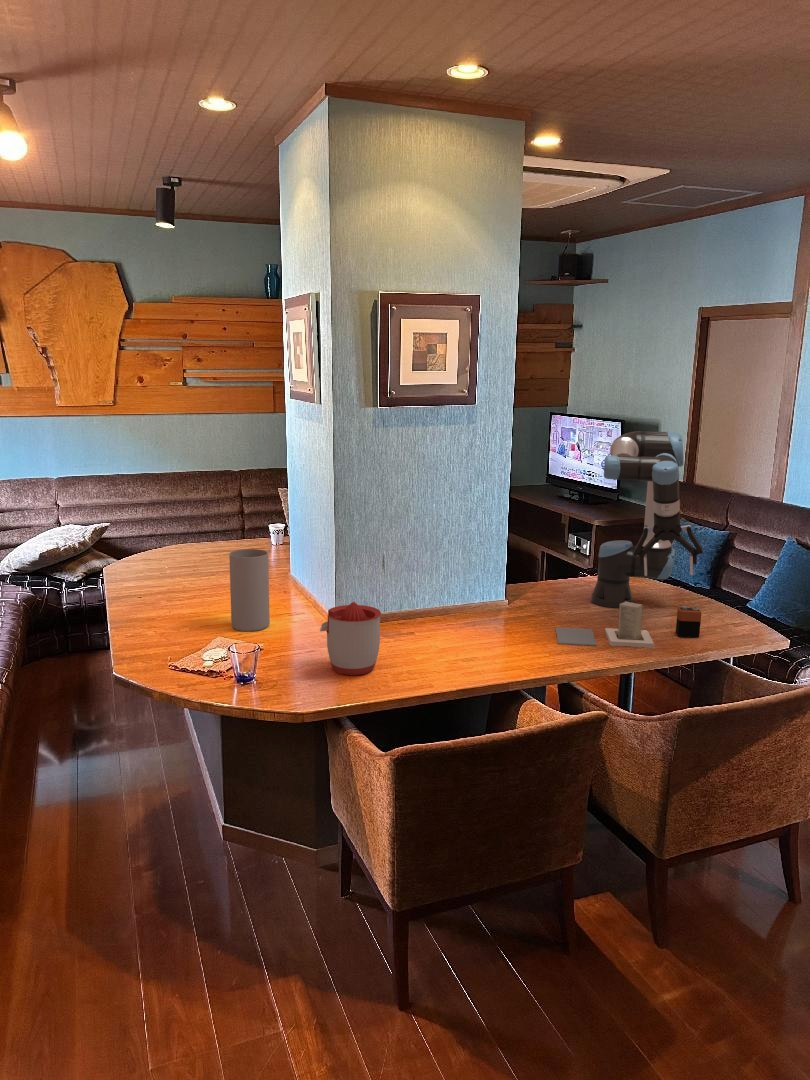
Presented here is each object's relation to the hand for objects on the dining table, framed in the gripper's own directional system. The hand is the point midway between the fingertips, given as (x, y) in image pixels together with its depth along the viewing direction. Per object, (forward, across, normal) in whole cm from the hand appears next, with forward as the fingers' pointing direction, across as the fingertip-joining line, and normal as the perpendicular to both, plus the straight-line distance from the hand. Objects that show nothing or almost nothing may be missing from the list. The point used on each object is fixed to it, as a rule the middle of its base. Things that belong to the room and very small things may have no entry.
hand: (668, 573), depth 254 cm
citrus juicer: (-1, -88, -55) cm, 104 cm away
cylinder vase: (+1, -133, -29) cm, 136 cm away
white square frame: (+22, -13, -5) cm, 26 cm away
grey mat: (+19, -30, -8) cm, 36 cm away
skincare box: (+22, -13, -5) cm, 26 cm away
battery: (+27, +5, +5) cm, 28 cm away
